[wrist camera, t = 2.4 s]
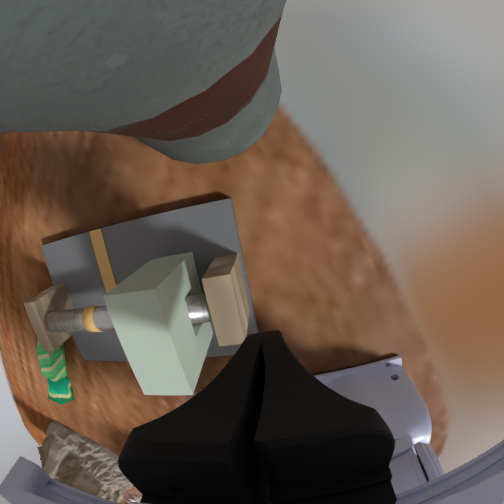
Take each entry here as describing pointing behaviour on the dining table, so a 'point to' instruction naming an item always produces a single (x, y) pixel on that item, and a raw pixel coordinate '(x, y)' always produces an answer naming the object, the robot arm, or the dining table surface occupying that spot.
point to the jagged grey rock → (82, 463)
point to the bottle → (143, 71)
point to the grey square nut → (161, 325)
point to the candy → (55, 374)
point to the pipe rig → (130, 260)
